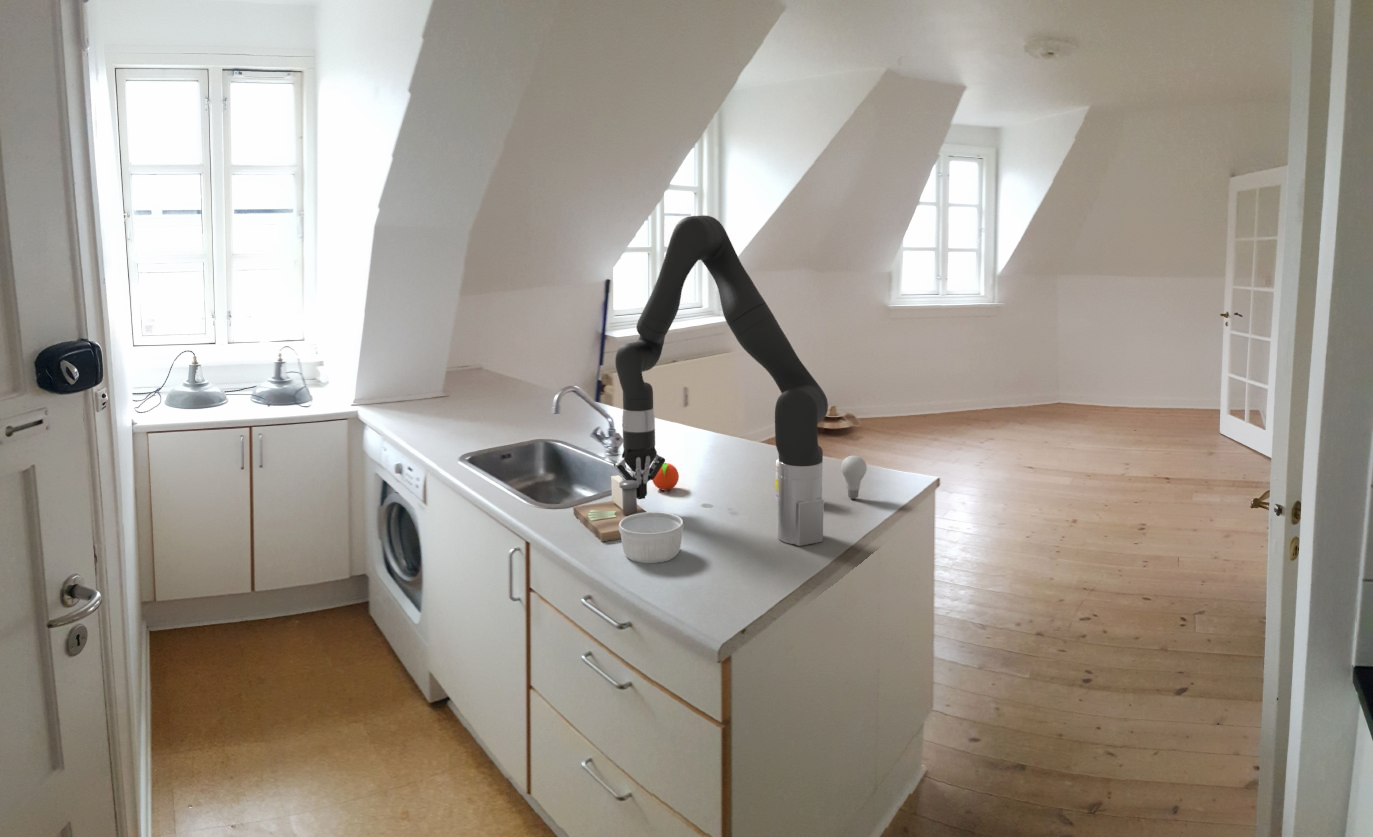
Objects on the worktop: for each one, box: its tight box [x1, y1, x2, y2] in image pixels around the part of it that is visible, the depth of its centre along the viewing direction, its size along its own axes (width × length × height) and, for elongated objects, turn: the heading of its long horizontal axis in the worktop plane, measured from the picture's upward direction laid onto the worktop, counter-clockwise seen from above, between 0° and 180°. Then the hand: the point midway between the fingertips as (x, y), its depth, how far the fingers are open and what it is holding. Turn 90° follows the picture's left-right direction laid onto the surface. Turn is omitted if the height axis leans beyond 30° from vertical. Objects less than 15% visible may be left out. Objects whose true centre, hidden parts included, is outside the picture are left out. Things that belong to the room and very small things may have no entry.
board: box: [573, 500, 647, 543], centre depth 197 cm, size 20×14×2 cm
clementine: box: [651, 462, 680, 491], centre depth 221 cm, size 8×7×7 cm
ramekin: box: [619, 511, 684, 564], centre depth 178 cm, size 13×13×7 cm
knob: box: [610, 474, 639, 515], centre depth 200 cm, size 12×4×7 cm, turn 25°
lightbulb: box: [840, 455, 868, 500], centre depth 211 cm, size 6×6×11 cm
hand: (640, 498), depth 205 cm, fingers closed
